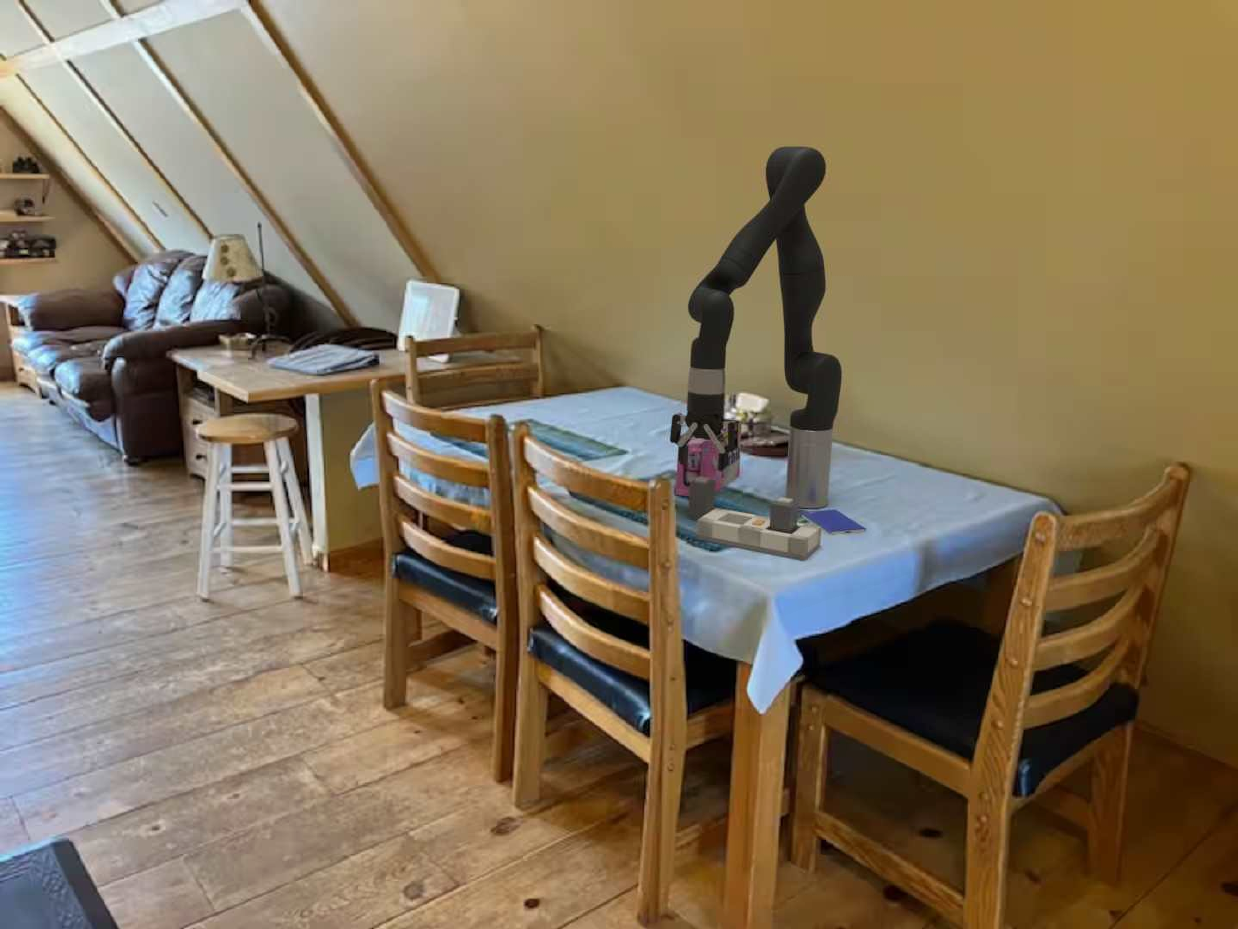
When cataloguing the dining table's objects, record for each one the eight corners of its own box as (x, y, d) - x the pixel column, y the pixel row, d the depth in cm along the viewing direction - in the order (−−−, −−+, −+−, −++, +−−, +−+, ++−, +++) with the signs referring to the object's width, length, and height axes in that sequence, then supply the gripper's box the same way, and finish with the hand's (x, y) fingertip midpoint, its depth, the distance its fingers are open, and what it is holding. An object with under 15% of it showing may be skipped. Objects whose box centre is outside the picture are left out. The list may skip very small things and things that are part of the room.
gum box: (705, 502, 218) (708, 442, 215) (672, 497, 221) (674, 437, 218) (740, 475, 239) (742, 420, 236) (709, 471, 242) (711, 417, 239)
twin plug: (776, 537, 193) (778, 495, 190) (796, 541, 191) (798, 498, 188) (768, 543, 189) (771, 500, 187) (788, 547, 187) (791, 504, 185)
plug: (696, 513, 210) (698, 474, 207) (713, 517, 208) (715, 477, 205) (688, 518, 206) (689, 479, 204) (705, 522, 204) (707, 482, 202)
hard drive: (801, 512, 209) (830, 531, 197) (836, 509, 211) (866, 527, 199) (801, 519, 209) (829, 538, 198) (836, 516, 211) (866, 535, 200)
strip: (696, 539, 194) (697, 518, 193) (715, 526, 202) (716, 506, 201) (803, 560, 184) (805, 538, 182) (820, 546, 191) (821, 525, 190)
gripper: (746, 390, 200) (741, 468, 204) (682, 382, 206) (679, 458, 210) (731, 396, 193) (726, 476, 197) (666, 388, 200) (663, 465, 204)
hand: (702, 467), depth 204 cm, fingers open, 8 cm apart
